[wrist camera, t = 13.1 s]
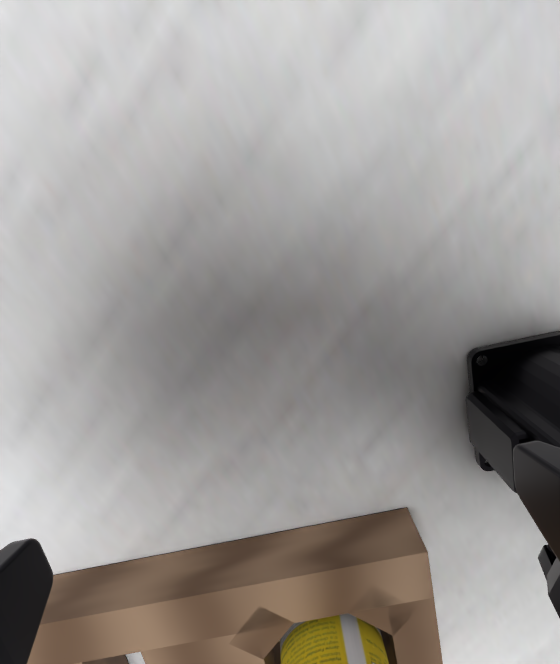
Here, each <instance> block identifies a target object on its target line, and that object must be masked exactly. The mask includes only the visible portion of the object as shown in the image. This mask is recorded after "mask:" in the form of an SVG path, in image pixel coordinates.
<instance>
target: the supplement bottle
mask: <svg viewBox="0 0 560 664" xmlns="http://www.w3.org/2000/svg"><path fill="white" fill-rule="evenodd" d="M280 654H281V664H389V662H388V658H387V654H386V651H385V647H384V643H383V639H382V635H381V632H380V629H379V628H377V627H375V626H373V625H371V624H369V623H367V622H365V621H363V620H361V619H359V618H357V617H355V616H353V615H351V614H349V613H347V614H342V615H337V616H331V617H326V618H320V619H315V620H309V621H304V622H299V623H294V624H293V625H292V626H291V627H290V628H289V629H288V631H287V632H286V633H285V634H284V635H283V637H282V638H281V639H280Z"/></svg>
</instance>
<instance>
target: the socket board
mask: <svg viewBox="0 0 560 664" xmlns="http://www.w3.org/2000/svg"><path fill="white" fill-rule="evenodd" d="M347 613H349V614H351V615H353V616H355V617H357V618H359V619H361V620H363V621H365V622H367V623H369V624H371V625H373V626H375V627H377V628H379V629H380V632H381V635H382V639H383V643H384V647H385V651H386V654H387V658H388V662H389V664H443V663H442V655H441V648H440V640H439V633H438V625H437V618H436V611H435V603H434V596H433V588H432V581H431V573H430V566H429V558H428V552H427V550H426V547H425V545H424V543H423V541H422V539H421V537H420V535H419V532H418V530H417V528H416V526H415V524H414V522H413V520H412V517H411V515H410V513H409V511H408V509H407V508H403V509H398V510H392V511H387V512H382V513H377V514H371V515H366V516H361V517H356V518H351V519H345V520H340V521H335V522H330V523H324V524H319V525H314V526H309V527H304V528H298V529H293V530H288V531H283V532H277V533H272V534H267V535H262V536H257V537H251V538H246V539H241V540H236V541H230V542H225V543H220V544H215V545H210V546H204V547H199V548H194V549H189V550H183V551H178V552H173V553H168V554H163V555H157V556H152V557H147V558H142V559H136V560H131V561H126V562H121V563H116V564H110V565H105V566H100V567H95V568H89V569H84V570H79V571H74V572H69V573H63V574H58V575H53V585H52V588H51V592H50V595H49V598H48V601H47V604H46V607H45V610H44V613H43V616H42V619H41V622H40V625H39V629H38V632H37V635H36V638H35V641H34V644H33V647H32V650H31V653H30V656H29V659H28V662H27V664H129V663H128V661H127V659H126V656H125V654H130V653H135V652H141V654H142V656H143V659H144V661H145V663H146V664H281V654H280V642H279V640H280V639H281V638H282V637H283V635H284V634H285V633H286V632H287V631H288V629H289V628H290V627H291V626H292V625H293V624H294V623H299V622H304V621H309V620H315V619H320V618H326V617H331V616H337V615H342V614H347Z"/></svg>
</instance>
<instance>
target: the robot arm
mask: <svg viewBox="0 0 560 664" xmlns="http://www.w3.org/2000/svg"><path fill="white" fill-rule="evenodd" d="M480 356H483V360H482V361H481V362H479V363H477V362H476V361H477V358H478V357H480ZM467 362H468V374H469V385H470V392H469V394H468V395H467V397H466V405H467V416H468V427H469V438H470V442H471V443H472V444H473V446H474V447H475V454H476V461H477V463H478V465H479V466H480V467H481V468H482V469H483V470H485V471H493V470H495V471H496V472H497V473H498V474H499V475H500V477H501V478H502V479H503V480H504V481H505V482H506V483H507V485H508V486H509V487H510V488H511V489H512V490H513V491H514V492H516V493H517V494H518V495H519V497H520V499H521V500H522V502H523V504H524V505H525V507H526V508H527V510H528V512H529V513H530V515H531V517H532V518H533V520H534V521H535V523H536V525H537V526H538V528H539V530H540V531H541V533H542V534H543V536H544V538H545V539H546V541H547V543H548V545H544V546H543V548H542V550H541V552H540V554H539V556H538V559H539V562H540V565H541V567H542V570H543V572H544V575H545V577H546V580H547V586H548V595H549V597H550V599H551V602H552V604H553V606H554V608H555V610H556V612H557V614H558V616H559V618H560V331H558V332H553V333H548V334H543V335H538V336H533V337H529V338H524V339H519V340H514V341H509V342H504V343H499V344H494V345H489V346H484V347H479V348H476V349H473V350H472V351H471V352H470V353H469V355H468V358H467ZM485 461H487V462H485ZM52 585H53V572H52V569H51V567H50V565H49V562H48V560H47V558H46V556H45V554H44V551H43V549H42V547H41V545H40V543H39V542H38V541H37V540H36V539H32V538H31V539H25V540H20V541H15V542H12V543H10V544H8V545H7V546H6V547H4V548H3V549H1V550H0V664H27V662H28V659H29V656H30V653H31V650H32V647H33V644H34V641H35V638H36V635H37V632H38V629H39V625H40V622H41V619H42V616H43V613H44V610H45V607H46V604H47V601H48V598H49V595H50V592H51V588H52Z"/></svg>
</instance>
